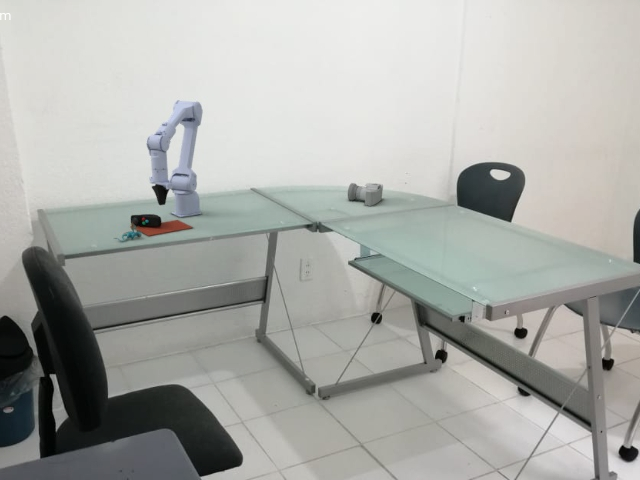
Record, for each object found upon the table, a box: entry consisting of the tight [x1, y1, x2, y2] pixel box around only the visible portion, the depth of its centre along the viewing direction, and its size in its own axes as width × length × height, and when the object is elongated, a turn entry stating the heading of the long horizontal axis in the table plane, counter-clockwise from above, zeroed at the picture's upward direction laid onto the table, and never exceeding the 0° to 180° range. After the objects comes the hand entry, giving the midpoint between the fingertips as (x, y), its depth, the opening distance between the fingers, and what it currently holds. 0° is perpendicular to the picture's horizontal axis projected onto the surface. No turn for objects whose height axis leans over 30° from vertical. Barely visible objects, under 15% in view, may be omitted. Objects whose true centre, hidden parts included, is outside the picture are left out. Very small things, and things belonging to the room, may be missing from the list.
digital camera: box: [347, 182, 384, 207], centre depth 270 cm, size 17×14×10 cm
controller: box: [130, 213, 162, 227], centre depth 227 cm, size 4×12×10 cm
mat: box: [134, 219, 194, 237], centre depth 226 cm, size 18×12×1 cm, turn 128°
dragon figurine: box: [113, 222, 143, 243], centre depth 212 cm, size 6×7×8 cm
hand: (162, 204), depth 227 cm, fingers closed
